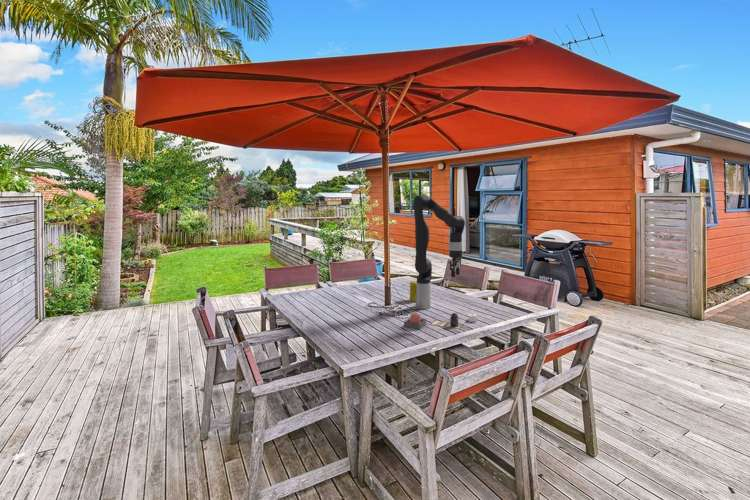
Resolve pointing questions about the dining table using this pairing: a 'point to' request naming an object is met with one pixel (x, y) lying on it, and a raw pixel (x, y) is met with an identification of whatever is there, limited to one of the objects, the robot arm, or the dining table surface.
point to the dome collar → (415, 324)
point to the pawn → (454, 320)
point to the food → (413, 290)
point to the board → (445, 324)
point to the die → (472, 318)
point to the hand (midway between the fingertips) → (455, 275)
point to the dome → (415, 318)
